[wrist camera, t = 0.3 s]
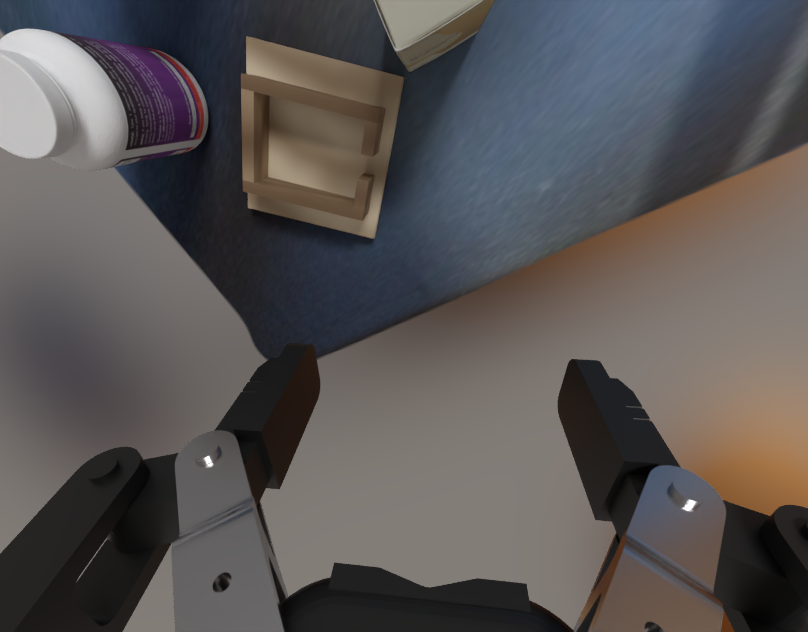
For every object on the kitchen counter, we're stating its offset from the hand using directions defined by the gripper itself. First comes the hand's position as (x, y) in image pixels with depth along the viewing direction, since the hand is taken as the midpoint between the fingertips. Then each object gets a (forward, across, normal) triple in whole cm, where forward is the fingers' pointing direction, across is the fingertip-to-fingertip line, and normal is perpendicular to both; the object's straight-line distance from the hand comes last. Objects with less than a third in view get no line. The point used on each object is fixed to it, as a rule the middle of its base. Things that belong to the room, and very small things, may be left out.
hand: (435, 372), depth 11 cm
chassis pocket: (+27, +12, -4) cm, 29 cm away
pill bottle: (+27, +25, -7) cm, 38 cm away
